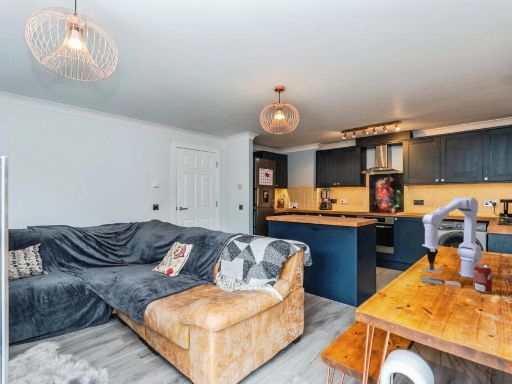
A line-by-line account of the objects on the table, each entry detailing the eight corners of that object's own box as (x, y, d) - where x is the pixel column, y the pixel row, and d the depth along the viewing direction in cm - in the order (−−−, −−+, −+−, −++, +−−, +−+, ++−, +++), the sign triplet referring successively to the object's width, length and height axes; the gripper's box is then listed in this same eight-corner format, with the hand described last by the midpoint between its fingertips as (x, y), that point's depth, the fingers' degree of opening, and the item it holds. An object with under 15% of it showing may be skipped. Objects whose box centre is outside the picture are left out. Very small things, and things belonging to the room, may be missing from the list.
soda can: (484, 294, 125) (485, 268, 124) (469, 289, 131) (470, 264, 131) (495, 293, 126) (495, 267, 126) (480, 288, 133) (480, 263, 133)
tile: (444, 279, 141) (446, 283, 135) (458, 281, 139) (461, 285, 133) (444, 283, 141) (446, 287, 135) (458, 284, 139) (461, 289, 133)
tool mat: (420, 277, 149) (420, 276, 149) (440, 279, 145) (440, 278, 145) (421, 282, 141) (421, 281, 141) (442, 285, 137) (442, 284, 137)
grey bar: (422, 270, 146) (422, 257, 146) (440, 271, 143) (440, 258, 143) (423, 271, 144) (422, 258, 144) (441, 273, 140) (441, 259, 140)
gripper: (421, 234, 151) (421, 258, 152) (423, 238, 138) (423, 265, 139) (436, 235, 148) (436, 260, 148) (440, 239, 135) (440, 266, 135)
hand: (431, 262), depth 143 cm, fingers closed on grey bar, 2 cm apart
